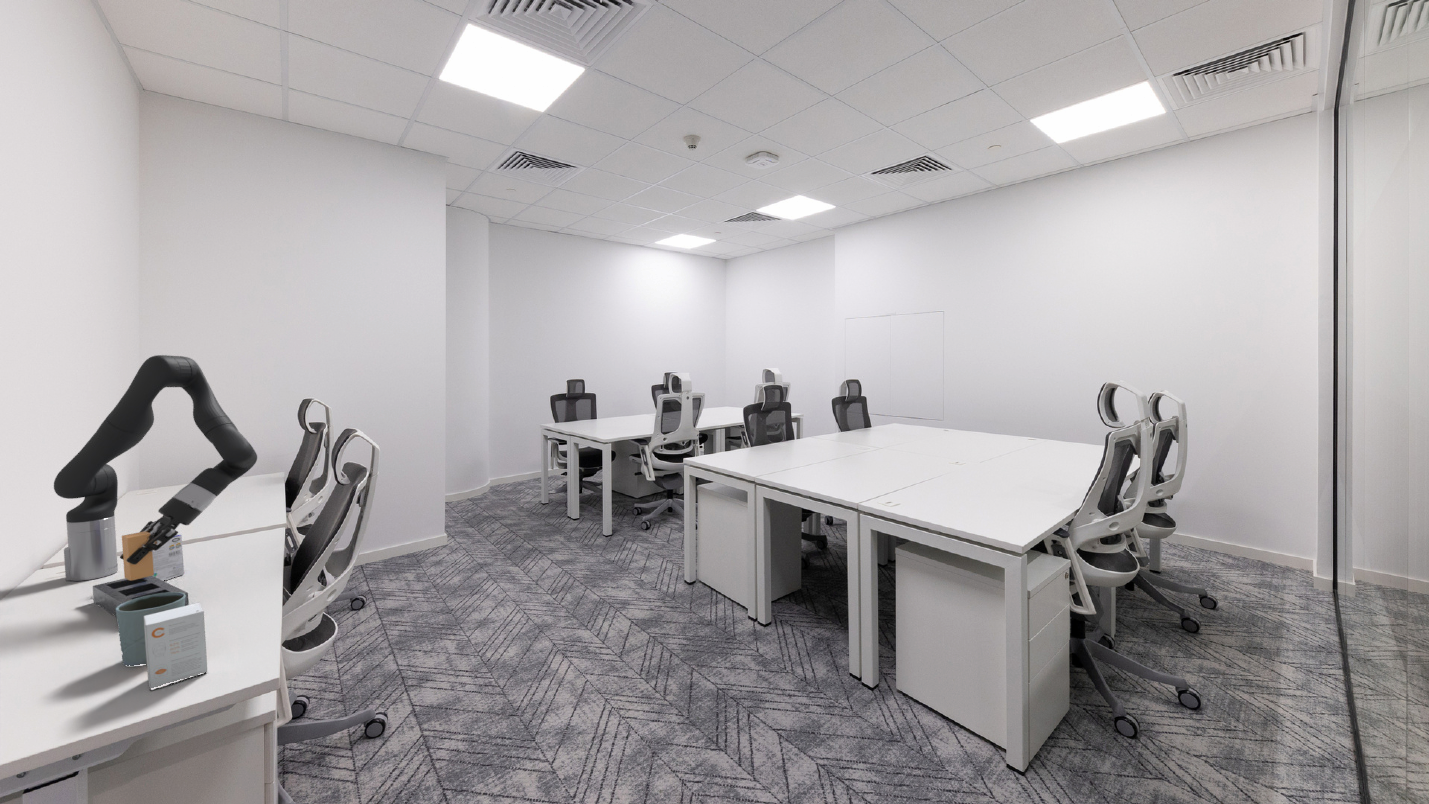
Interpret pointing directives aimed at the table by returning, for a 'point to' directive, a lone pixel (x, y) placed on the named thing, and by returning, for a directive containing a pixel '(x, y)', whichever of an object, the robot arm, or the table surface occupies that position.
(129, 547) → the square peg
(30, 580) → the table surface
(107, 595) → the gray slotted block
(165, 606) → the grey-green hollow cylinder
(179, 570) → the ink cartridge box
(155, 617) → the small box
